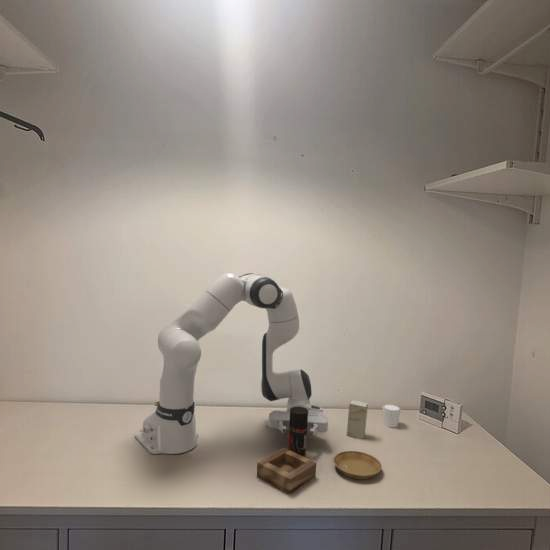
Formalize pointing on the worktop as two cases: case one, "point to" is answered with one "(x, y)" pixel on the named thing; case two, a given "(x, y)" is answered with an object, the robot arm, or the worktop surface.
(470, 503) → the worktop surface
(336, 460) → the plant saucer
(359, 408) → the skincare box
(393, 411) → the white cylinder
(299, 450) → the deodorant
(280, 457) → the slot block
